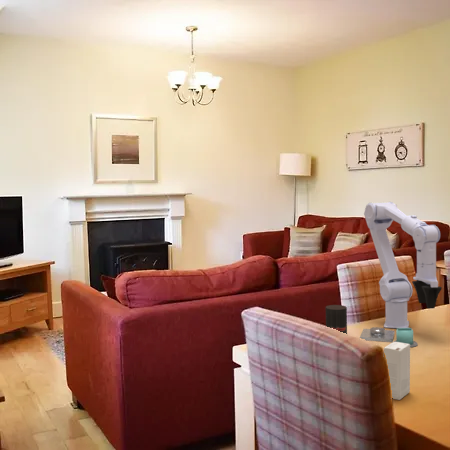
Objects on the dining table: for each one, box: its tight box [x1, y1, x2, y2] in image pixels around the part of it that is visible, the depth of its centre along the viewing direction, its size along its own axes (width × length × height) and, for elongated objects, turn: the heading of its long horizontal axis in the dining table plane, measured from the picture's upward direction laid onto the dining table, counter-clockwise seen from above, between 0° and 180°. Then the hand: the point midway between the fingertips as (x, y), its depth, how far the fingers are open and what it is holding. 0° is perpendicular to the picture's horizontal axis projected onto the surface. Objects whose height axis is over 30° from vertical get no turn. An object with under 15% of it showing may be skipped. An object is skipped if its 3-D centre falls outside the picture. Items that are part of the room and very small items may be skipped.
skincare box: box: [383, 341, 411, 401], centre depth 130 cm, size 6×4×12 cm
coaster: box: [393, 340, 419, 348], centre depth 169 cm, size 7×7×1 cm
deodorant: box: [325, 304, 348, 335], centre depth 158 cm, size 6×6×15 cm
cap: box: [395, 327, 414, 345], centre depth 169 cm, size 5×5×5 cm
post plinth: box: [359, 326, 396, 343], centre depth 178 cm, size 10×10×2 cm
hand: (426, 305), depth 175 cm, fingers open, 7 cm apart
